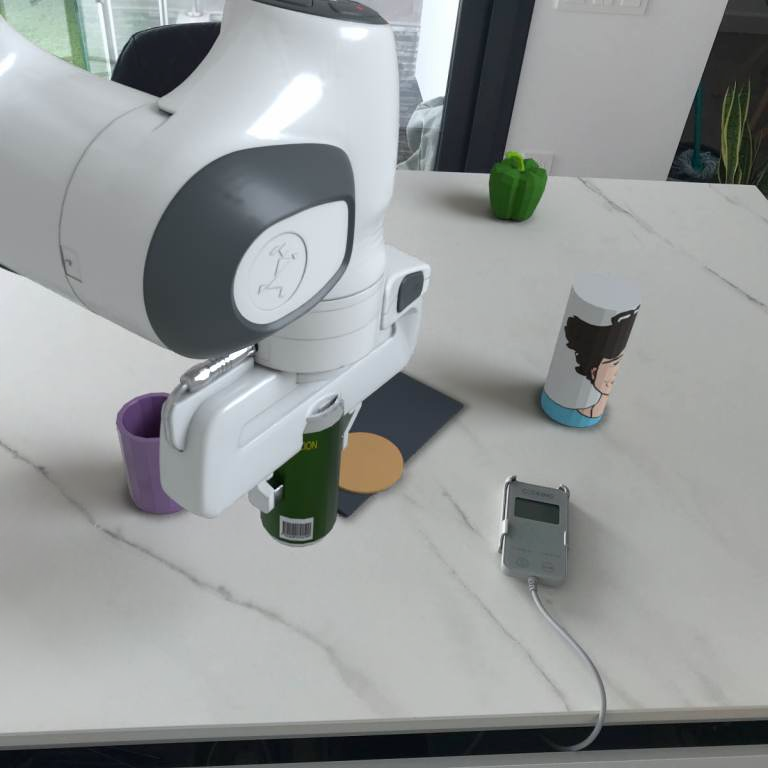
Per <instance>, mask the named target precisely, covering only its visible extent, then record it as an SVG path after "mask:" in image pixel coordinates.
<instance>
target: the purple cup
mask: <svg viewBox="0 0 768 768" xmlns="http://www.w3.org/2000/svg"><path fill="white" fill-rule="evenodd" d="M170 394H171V392H170V393H169V392H163V391H161V392H147V393H144V394H142V395H138V396H135V397H134V398H132V399H130V400H128V401H127V402H125V403H124V404H123V405H122V407H121V408H120V409H119V410H118V411H117V414H116V419H115V426H116V427H115V428H116V432H117V436H118V442H119V447H120V452H121V457H122V462H123V466H124V471H125V477H126V482H127V486H128V491H129V495H130V498H131V500H132V502H133V503H134V506H136V507H137V508H138V509H140V510H142V511H144V512H146V513H148V514H153V515H166V514H167V515H169V514H173V513H176V512H179V511H180V510H184V508H183V507H182V506H180V505H179V504H178V503H176V502H175V501H174V500H173V499H171V498H170V497H169V496H168V495H167V494H166V493H165V492H164V490H163V489H162V486H161V481H160V466H159V447H160V427H161V419H162V418H161V411H162V406H163V404H164V402H165V401H166V400H167V398H168V397H169V395H170Z"/></svg>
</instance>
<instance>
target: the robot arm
mask: <svg viewBox="0 0 768 768" xmlns="http://www.w3.org/2000/svg"><path fill="white" fill-rule="evenodd" d="M400 91H401V90H400V70H399V59H398V51H397V44H396V38H395V34H394V31H393V28H392V25H391V24H390V23H389V22H388V21H387V20H386V19H385V18H384V17H383V16H382V15H380V13H379V12H378V11H377V10H375V9H373V8H371V7H369V6H367V5H365V4H363V3H361V2H359V1H355V0H225V1H224V4H223V10H222V16H221V22H220V32H219V35H218V36H217V38H216V40H215V41H214V43H213V45H212V47H211V48H210V50H209V52H208V53H207V54H206V56H205V57H204V58H203V59H202V61H201V62H200V63H199V64H198V66H197V67H196V68H195V70H193V71H192V73H191V74H190V75H189V76H188V77H187V78H185V80H184V81H182V82H181V83H180V84H179V85H178V86H176V87H175V88H174V89H173V90H171V91H170V92H168V93H167V94H165V95H163V96H162V97H159V96H156V95H153V94H151V93H148V92H145V91H142V90H139V89H136V88H133V87H130V86H128V85H125V84H122V83H120V82H116V81H115V80H111V79H108V78H106V77H103V76H100V75H97V74H95V73H92V72H91V71H88V70H86V69H84V68H81V67H80V66H77V65H75V64H73V63H71V62H70V61H68V60H65V59H63V58H61V57H59V56H57V55H56V54H53V53H51V52H49V51H47V50H46V49H44V48H42V47H41V46H39V45H38V44H35V42H33V41H32V40H29V39H28V38H27V37H25V36H24V35H23V34H21V33H20V32H19V31H18V30H16V29H15V28H14V27H13V26H12V25H11V24H10V23H9V22H8V21H7V19H5V17H4V16H3V15H2V14H1V13H0V269H3V270H5V271H7V272H10V273H12V274H15V275H18V276H21V277H24V278H26V279H28V280H30V281H32V282H34V283H36V284H38V285H39V286H41V287H44V288H46V289H47V290H49V291H51V292H53V293H55V294H57V295H59V296H60V297H62V298H64V299H66V300H68V301H70V302H71V303H74V304H75V305H77V306H79V307H81V308H84V309H85V310H88V311H89V312H90V313H93V314H95V315H97V316H99V317H101V318H103V319H104V320H107V321H109V322H110V323H113V324H115V325H117V326H119V327H120V328H122V329H124V330H126V331H128V332H130V333H132V334H134V335H136V336H137V337H140V338H142V339H144V340H146V341H148V342H150V343H152V344H153V345H156V346H158V347H160V348H163V349H165V350H168V351H171V352H174V353H175V354H177V355H179V356H181V357H184V358H187V359H191V360H192V359H193V360H205V361H203V362H199V363H197V364H195V365H193V366H191V367H190V368H188V369H187V370H186V371H185V372H183V374H182V375H181V376H180V377H179V382H180V383H178V384H177V385H176V386H175V387H174V388H173V389H172V391H171V392H170V395H169V397H168V398H167V400H166V401H165V402H164V404H163V406H162V411H161V418H162V419H161V427H160V447H159V466H160V481H161V486H162V489H163V490H164V492H165V493H166V494H167V495H168V496H169V497H170V498H171V499H173V500H174V501H175V502H176V503H178V504H179V505H180V506H182V507H183V509H185V510H186V511H188V512H190V513H191V514H193V515H195V516H198V517H201V518H204V519H209V520H213V519H216V518H217V517H219V516H220V515H221V514H223V513H224V512H226V510H228V508H230V507H231V506H233V505H235V503H237V502H238V501H239V500H240V499H241V498H243V497H244V496H245V495H247V497H248V498H247V499H248V502H249V503H250V504H251V505H252V506H253V507H254V508H256V509H258V510H259V511H260V510H261V511H262V512H264V513H269V512H270V511H271V510H272V509H273V508H274V507H276V506H277V505H278V504H279V503H280V502H281V501H282V500H283V499H284V496H283V492H284V484H283V483H280V482H278V481H276V480H274V479H272V476H273V472H274V471H275V470H276V469H278V468H279V467H280V466H282V465H283V464H284V463H285V462H287V461H288V460H289V459H290V458H292V457H293V456H294V455H295V454H297V453H298V452H299V451H300V450H301V448H302V445H303V431H304V429H305V426H306V424H307V422H306V418H307V417H308V416H310V415H314V414H318V409H319V408H320V407H322V406H323V405H324V404H326V403H327V402H328V401H330V400H331V401H330V404H332V403H333V402H334V401H336V399H337V397H338V394H339V393H340V392H341V398H342V399H343V400H344V420H343V434H342V448H341V451H342V450H344V449H345V448H346V447H347V443H348V431H349V430H350V428H351V426H352V424H353V422H354V420H355V418H356V416H357V414H358V412H359V410H360V408H361V406H362V401H363V400H364V399H366V398H367V397H368V396H369V395H371V394H372V393H373V392H374V391H376V390H377V389H378V388H379V387H381V386H382V385H383V384H385V383H386V382H387V381H388V380H390V379H391V378H392V377H393V376H395V375H396V374H397V373H398V372H402V371H403V370H404V369H405V367H406V366H407V365H408V364H409V361H410V359H412V356H413V354H414V352H415V349H416V346H417V342H418V337H419V332H420V327H421V319H422V313H423V305H424V304H423V295H424V294H425V293H426V292H427V290H428V288H429V285H430V280H431V274H432V268H431V265H430V264H429V263H428V262H426V261H423V260H422V259H420V258H418V257H416V256H414V255H412V254H410V253H408V252H407V251H404V250H402V249H400V248H398V247H396V246H393V245H391V244H389V243H387V242H386V240H385V237H384V222H385V217H386V214H387V211H388V209H389V206H390V204H391V202H392V200H393V197H394V192H395V185H396V179H397V178H396V177H397V168H398V167H397V166H398V156H399V155H398V154H399V153H398V152H399V137H400V110H401V109H400V108H401V107H400V103H401V102H400V100H401V98H400V95H401V94H400V93H401V92H400Z"/></svg>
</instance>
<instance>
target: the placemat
mask: <svg viewBox="0 0 768 768" xmlns="http://www.w3.org/2000/svg"><path fill="white" fill-rule="evenodd" d="M464 406H465V405H464V403H462V402H460V401H458V400H456V399H454V398H452V397H450V396H448V395H447V394H444V393H443V392H441V391H439V390H437V389H435V388H433V387H431V386H429V385H428V384H425V383H423V382H422V381H419V380H418V379H416V378H413V377H412V376H410V375H408V374H406V373H404V372H402V371H400V372H398V373H397V374H396V375H395V376H393V377H392V378H391V379H390V380H388V381H387V382H386V383H385V384H383V385H382V386H381V387H379V388H378V389H377V390H376V391H374V392H373V393H372V394H371V395H369V396H368V397H367V398H366V399H364V400H363V401H362V406H361V408H360V410H359V412H358V414H357V416H356V418H355V420H354V422H353V424H352V426H351V428H350V430H349V431H348V443H347V447H346V448H345V449H344V450H342V451H341V463H340V477H339V491H338V505H337V513H339V514H341V515H343V516H344V517H346V518H349V517H350V516H351V515H352V514H353V513H354V512H355V511H357V509H358V508H359V507H360V506H361V505H362V504H364V503H365V502H366V501H367V500H368V499H369V498H370V497H371V496H372V495H373V494H375V493H380V492H382V491H385V490H387V489H389V488H390V487H392V486H393V485H395V483H397V482H398V480H400V477H401V476H402V473H403V471H404V470H403V469H404V465H405V463H406V462H407V461H408V460H410V459H411V458H412V456H414V455H415V454H416V453H417V452H418V451H419V450H420V449H421V448H423V446H424V445H425V444H426V443H428V441H429V440H430V439H432V438H433V437H434V435H436V434H437V433H438V432H439V431H440V430H441V429H442V428H443V427H444V426H445V425H446V424H447V423H448V422H449V421H450V420H451V419H453V417H454V416H455V415H457V413H458V412H459V411H461V410H462V408H464Z"/></svg>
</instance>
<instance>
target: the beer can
mask: <svg viewBox="0 0 768 768" xmlns="http://www.w3.org/2000/svg"><path fill="white" fill-rule="evenodd" d="M330 401H331V400H330ZM330 401H328V402H327V403H326V404H324V405H323V406H322V407H320V408H319V409H318V414H314V415H310V416H308V417H307V418H306V422H307V424H306V426H305V429H304V431H303V445H302V448H301V450H300V451H299V452H298V453H297V454H295V455H294V456H293V457H292V458H290V459H289V460H288V461H287V462H285V463H284V464H283V465H282V466H280V467H279V468H278V469H276V470H275V471H274V472H273V476H272V479H274V480H276V481H278V482H280V483H283V484H284V492H283V496H284V499H283V500H282V501H281V502H280V503H279V504H278V505H277V506H276V507H274V508H273V509H272V510H271V511H270V512H269V513H264V512H262V511H261V510H259V512H260V513H259V514H260V521H261V524H262V527H263V528H264V530H265V531H266V532H267V534H269V536H270V537H271V539H272V540H274V541H276V543H279V544H280V545H282V546H286V547H290V548H307V547H310V546H314V545H317V544H318V543H319V542H322V541H323V540H324V539H325V538H326V537H327V536H328V535H329V534H330V532H332V530H333V529H334V526H335V524H336V522H337V519H338V511H337V505H338V491H339V477H340V463H341V448H342V434H343V420H344V400H343V399H342V398H341V392H340V393H339V394H338V397H337V399H336V401H334V402H333V403H332V404H330Z"/></svg>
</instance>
